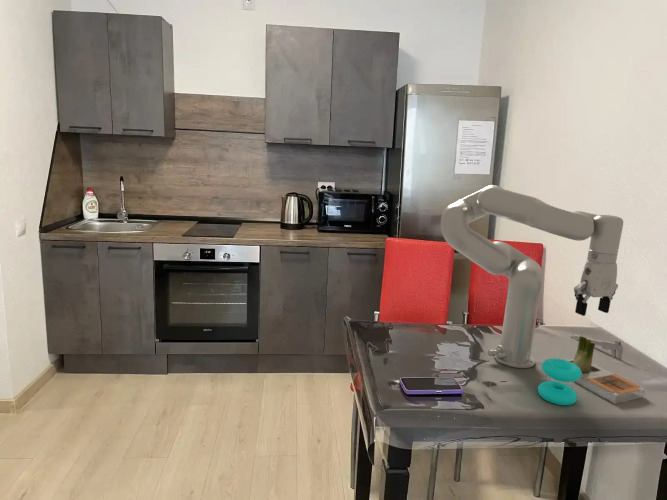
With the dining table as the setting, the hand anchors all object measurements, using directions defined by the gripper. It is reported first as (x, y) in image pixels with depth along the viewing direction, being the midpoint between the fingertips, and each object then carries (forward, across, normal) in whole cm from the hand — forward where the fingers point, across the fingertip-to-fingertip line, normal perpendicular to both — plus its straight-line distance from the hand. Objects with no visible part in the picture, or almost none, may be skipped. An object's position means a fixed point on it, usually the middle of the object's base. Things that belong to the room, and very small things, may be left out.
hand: (591, 312), depth 151 cm
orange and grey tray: (+20, 0, -5) cm, 21 cm away
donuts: (+20, -20, -9) cm, 30 cm away
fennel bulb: (+20, 0, 0) cm, 20 cm away
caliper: (+20, +23, +14) cm, 34 cm away
